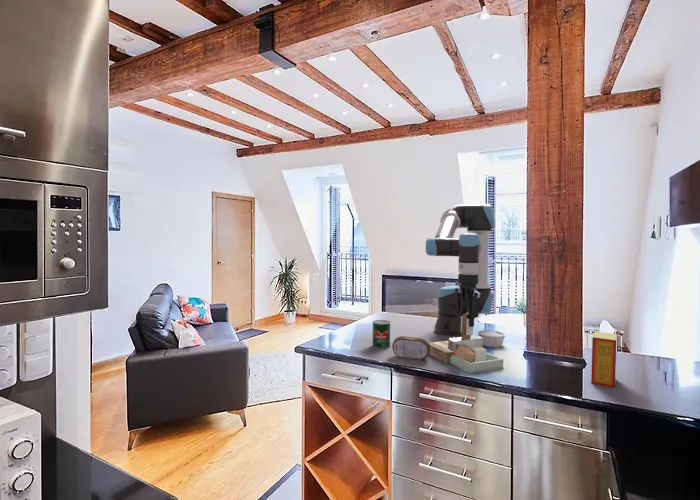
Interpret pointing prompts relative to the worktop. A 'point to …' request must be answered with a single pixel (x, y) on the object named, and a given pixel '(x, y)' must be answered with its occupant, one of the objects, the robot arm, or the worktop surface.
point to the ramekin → (491, 338)
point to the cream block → (479, 353)
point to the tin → (411, 347)
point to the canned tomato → (381, 334)
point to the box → (478, 364)
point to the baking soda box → (604, 359)
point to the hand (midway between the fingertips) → (466, 333)
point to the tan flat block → (441, 351)
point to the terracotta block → (465, 353)
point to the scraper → (464, 338)
